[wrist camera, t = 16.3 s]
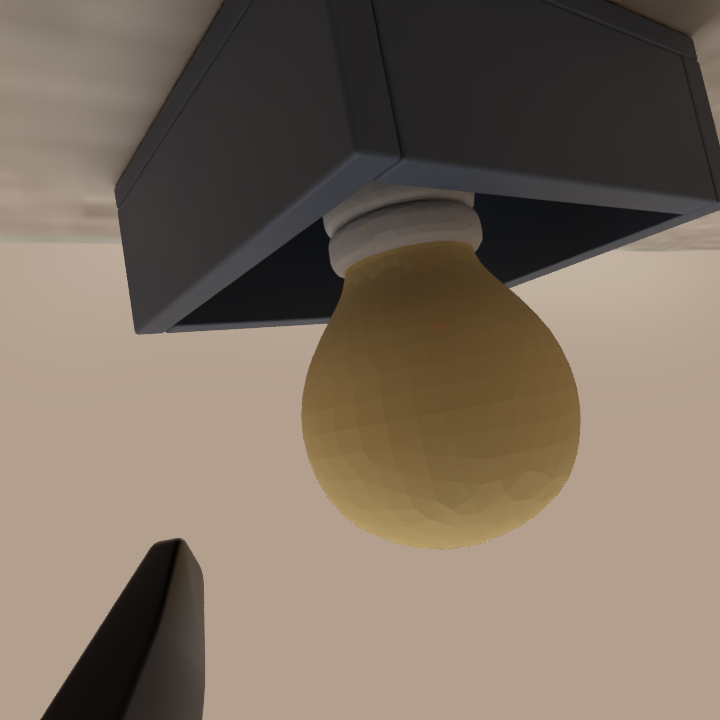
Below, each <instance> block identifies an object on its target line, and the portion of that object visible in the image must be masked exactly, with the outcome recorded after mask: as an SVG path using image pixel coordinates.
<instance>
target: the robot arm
mask: <svg viewBox="0 0 720 720" xmlns="http://www.w3.org/2000/svg"><path fill="white" fill-rule="evenodd" d="M204 691H205V636H204V581H203V574H202V570H201V568H200V565H199V564H198V562H197V560H196V559H195V557H194V555H193V553H192V552H191V550H190V548H189V547H188V545H187V543H186V542H185V541H184V540H183V539H181V538H176V539H170V540H165V541H159V542H157V543H155V544H154V545H153V546H152V547H151V548H150V549H149V551H148V553H147V554H146V556H145V558H144V559H143V560H142V562H141V563H140V565H139V567H138V568H137V570H136V571H135V573H134V574H133V576H132V577H131V579H130V581H129V582H128V584H127V585H126V587H125V588H124V590H123V591H122V593H121V595H120V596H119V598H118V599H117V601H116V602H115V604H114V606H113V607H112V609H111V610H110V612H109V613H108V615H107V616H106V618H105V620H104V621H103V623H102V624H101V626H100V627H99V629H98V631H97V632H96V634H95V635H94V637H93V639H92V640H91V641H90V643H89V645H88V646H87V648H86V649H85V651H84V652H83V654H82V655H81V657H80V659H79V660H78V662H77V663H76V665H75V666H74V668H73V669H72V671H71V673H70V674H69V676H68V677H67V679H66V680H65V682H64V683H63V685H62V687H61V688H60V690H59V692H58V693H57V694H56V696H55V697H54V699H53V701H52V702H51V704H50V705H49V707H48V708H47V710H46V712H45V713H44V715H43V717H42V718H41V719H40V720H202V714H203V705H204Z"/></svg>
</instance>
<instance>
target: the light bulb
mask: <svg viewBox="0 0 720 720" xmlns="http://www.w3.org/2000/svg"><path fill="white" fill-rule="evenodd" d="M473 206H474V193H472V192H463V191H453V190H444V189H434V188H424V187H415V186H405V185H395V184H386V183H376V182H374V181H373V180H372V181H370V182H369V183H367V184H366V185H365V186H363V187H362V188H361V189H359V190H358V191H356V192H355V193H354V194H352V195H351V196H350V197H348V198H347V199H346V200H344V201H343V202H341V203H340V204H339V205H337V206H336V207H335V208H333V209H332V210H330V211H329V212H328V213H326V214H325V215H324V216H323V223H324V228H325V230H326V233H327V235H328V236H329V237H330V238H331V239H330V243H329V256H330V263H331V266H332V268H333V270H334V271H335V273H336V274H337V275H338V276H339V277H342V278H345V280H344V286H343V292H342V295H341V297H340V300H339V302H338V305H337V307H336V309H335V311H334V313H333V315H332V317H331V319H330V321H329V323H328V325H327V327H326V329H325V331H324V333H323V335H322V337H321V339H320V341H319V344H318V346H317V349H316V351H315V353H314V356H313V358H312V361H311V363H310V366H309V370H308V373H307V376H306V382H305V386H304V391H303V398H302V414H301V418H302V429H303V438H304V442H305V446H306V450H307V454H308V458H309V461H310V463H311V466H312V468H313V471H314V473H315V476H316V478H317V480H318V482H319V483H320V485H321V487H322V489H323V490H324V492H325V494H326V495H327V497H328V498H329V500H330V501H331V502H332V504H333V505H334V506H335V507H336V508H337V509H338V510H339V511H340V512H341V513H342V514H343V515H344V516H345V517H346V518H347V519H348V520H350V521H351V522H352V523H354V524H355V525H357V526H358V527H360V528H361V529H364V530H365V531H367V532H370V533H372V534H374V535H376V536H379V537H382V538H384V539H386V540H388V541H391V542H393V543H397V544H402V545H406V546H411V547H416V548H428V549H453V548H459V547H465V546H471V545H476V544H481V543H484V542H486V541H489V540H492V539H494V538H497V537H500V536H502V535H504V534H506V533H508V532H510V531H511V530H513V529H515V528H517V527H519V526H521V525H522V524H524V523H526V522H527V521H528V520H530V519H531V518H533V517H534V516H535V515H537V514H538V513H539V512H540V511H541V510H542V509H543V508H544V507H545V506H546V505H547V504H548V503H549V502H551V500H553V499H554V497H555V496H557V495H558V494H559V492H560V491H561V489H562V487H563V486H564V484H565V483H566V481H567V480H568V478H569V476H570V473H571V471H572V468H573V465H574V462H575V459H576V455H577V450H578V445H579V436H580V405H579V398H578V392H577V387H576V383H575V380H574V377H573V374H572V371H571V367H570V365H569V363H568V361H567V359H566V357H565V355H564V353H563V351H562V349H561V347H560V345H559V344H558V342H557V340H556V339H555V337H554V336H553V334H552V332H551V331H550V329H549V328H548V327H547V326H546V325H545V324H544V323H543V321H542V320H541V319H540V318H539V317H538V316H537V315H536V313H534V312H533V310H531V309H530V308H529V307H528V306H527V305H526V304H525V303H524V302H523V301H522V300H521V299H520V298H519V297H518V296H517V295H516V294H515V293H513V292H512V291H511V290H510V289H509V288H508V287H506V286H505V285H504V284H503V283H502V282H500V281H499V280H498V279H497V278H496V277H495V276H493V275H492V274H491V273H490V272H489V271H488V270H487V269H486V268H485V267H484V266H483V265H482V264H481V263H480V261H479V259H478V258H477V256H476V254H475V253H474V252H475V251H476V250H477V249H478V247H479V245H480V243H481V242H482V228H481V223H480V219H479V217H478V214H477V213H476V212H475V211H474V209H473Z"/></svg>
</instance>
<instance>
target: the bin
mask: <svg viewBox="0 0 720 720" xmlns="http://www.w3.org/2000/svg"><path fill="white" fill-rule="evenodd" d="M372 180H373V181H374V182H376V183H386V184H395V185H405V186H415V187H424V188H434V189H444V190H453V191H463V192H472V193H474V206H473V209H474V211H475V212H476V213H477V214H478V217H479V219H480V223H481V228H482V242H481V243H480V245H479V247H478V249H477V250H476V251H475V252H474V253H475V254H476V256H477V258H478V259H479V261H480V263H481V264H482V265H483V266H484V267H485V268H486V269H487V270H488V271H489V272H490V273H491V274H492V275H493V276H495V277H496V278H497V279H498V280H499V281H500V282H502V283H503V284H504V285H505V286H506V287H508V288H511V287H514V286H517V285H519V284H522V283H525V282H527V281H530V280H533V279H535V278H538V277H541V276H543V275H546V274H549V273H551V272H554V271H557V270H559V269H562V268H565V267H568V266H570V265H573V264H576V263H578V262H581V261H583V260H586V259H589V258H592V257H594V256H597V255H600V254H603V253H605V252H608V251H611V250H613V249H616V248H619V247H621V246H624V245H627V244H629V243H632V242H635V241H637V240H640V239H643V238H646V237H648V236H651V235H654V234H656V233H659V232H662V231H664V230H667V229H670V228H672V227H675V226H678V225H680V224H683V223H686V222H689V221H691V220H694V219H697V218H699V217H702V216H705V215H707V214H710V213H713V212H715V211H718V210H720V145H719V141H718V137H717V133H716V129H715V125H714V121H713V117H712V113H711V109H710V105H709V101H708V97H707V93H706V89H705V85H704V81H703V77H702V73H701V69H700V65H699V63H698V62H697V55H696V51H695V47H694V43H693V40H692V39H691V38H689V37H687V36H685V35H682V34H680V33H678V32H676V31H673V30H671V29H669V28H666V27H664V26H662V25H660V24H657V23H655V22H653V21H650V20H648V19H646V18H644V17H641V16H639V15H637V14H634V13H632V12H630V11H627V10H625V9H623V8H621V7H618V6H616V5H614V4H611V3H609V2H607V1H605V0H226V2H225V3H224V5H223V7H222V8H221V10H220V12H219V13H218V15H217V17H216V19H215V20H214V22H213V24H212V25H211V27H210V29H209V30H208V32H207V34H206V35H205V37H204V39H203V41H202V42H201V44H200V46H199V47H198V49H197V51H196V52H195V54H194V56H193V57H192V59H191V61H190V63H189V64H188V66H187V68H186V69H185V71H184V73H183V74H182V76H181V78H180V79H179V81H178V83H177V84H176V86H175V88H174V90H173V91H172V93H171V95H170V96H169V98H168V100H167V101H166V103H165V105H164V106H163V108H162V110H161V112H160V113H159V115H158V117H157V118H156V120H155V122H154V123H153V125H152V127H151V128H150V130H149V132H148V134H147V135H146V137H145V139H144V140H143V142H142V144H141V145H140V147H139V149H138V150H137V152H136V154H135V155H134V157H133V159H132V161H131V162H130V164H129V166H128V167H127V169H126V171H125V172H124V174H123V176H122V177H121V179H120V181H119V183H118V184H117V186H116V188H115V190H114V191H115V198H116V205H117V208H118V217H119V224H120V231H121V238H122V245H123V252H124V259H125V266H126V273H127V280H128V287H129V294H130V300H131V308H132V314H133V322H134V329H135V332H136V334H154V333H155V334H156V333H163V332H166V333H176V332H192V331H208V330H226V329H243V328H260V327H277V326H292V325H310V324H327V323H329V321H330V319H331V317H332V315H333V313H334V311H335V309H336V307H337V305H338V302H339V300H340V297H341V295H342V292H343V286H344V280H345V278H342V277H339V276H338V275H337V274H336V273H335V271H334V270H333V268H332V266H331V263H330V256H329V243H330V239H331V238H330V237H329V236H328V235H327V233H326V230H325V228H324V223H323V216H324V215H325V214H326V213H328V212H329V211H330V210H332V209H333V208H335V207H336V206H337V205H339V204H340V203H341V202H343V201H344V200H346V199H347V198H348V197H350V196H351V195H352V194H354V193H355V192H356V191H358V190H359V189H361V188H362V187H363V186H365V185H366V184H367V183H369V182H370V181H372Z"/></svg>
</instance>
